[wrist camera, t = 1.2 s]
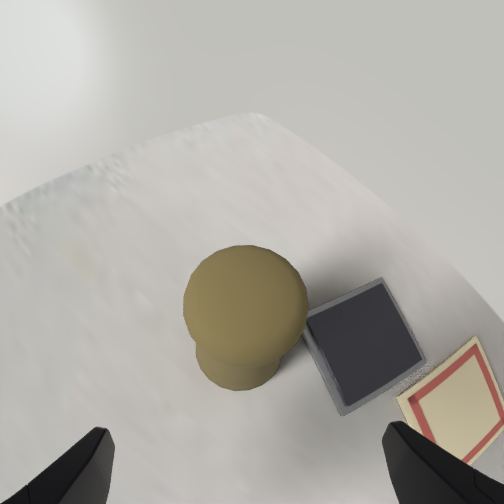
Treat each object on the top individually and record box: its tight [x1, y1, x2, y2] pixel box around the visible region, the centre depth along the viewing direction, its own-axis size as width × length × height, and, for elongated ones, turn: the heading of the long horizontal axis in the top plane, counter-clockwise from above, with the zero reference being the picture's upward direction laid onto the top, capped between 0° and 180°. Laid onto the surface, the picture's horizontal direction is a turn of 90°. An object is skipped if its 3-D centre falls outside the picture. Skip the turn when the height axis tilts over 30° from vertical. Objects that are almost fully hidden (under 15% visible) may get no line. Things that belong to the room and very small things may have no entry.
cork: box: [183, 245, 308, 391], centre depth 16 cm, size 6×6×11 cm
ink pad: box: [302, 277, 427, 416], centre depth 21 cm, size 8×8×1 cm
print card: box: [396, 336, 504, 465], centre depth 19 cm, size 10×10×1 cm
